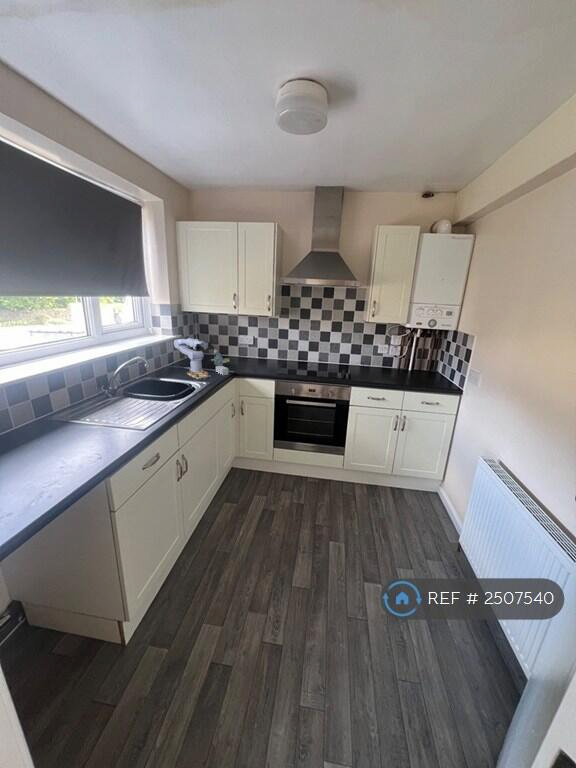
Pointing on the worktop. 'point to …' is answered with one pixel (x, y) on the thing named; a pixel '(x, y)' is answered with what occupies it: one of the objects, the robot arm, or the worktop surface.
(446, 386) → the worktop surface
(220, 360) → the toy figure
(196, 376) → the cradle jig
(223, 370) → the block
